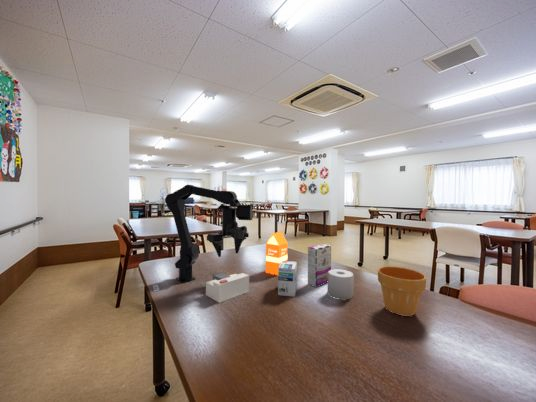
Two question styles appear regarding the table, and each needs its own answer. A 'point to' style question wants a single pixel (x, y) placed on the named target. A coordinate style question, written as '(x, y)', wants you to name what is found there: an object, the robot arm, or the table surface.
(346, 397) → the table surface
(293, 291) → the light bulb box
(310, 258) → the candy bar box
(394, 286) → the flower pot
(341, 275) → the toilet tissue
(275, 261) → the orange juice
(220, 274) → the plug
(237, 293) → the socket
